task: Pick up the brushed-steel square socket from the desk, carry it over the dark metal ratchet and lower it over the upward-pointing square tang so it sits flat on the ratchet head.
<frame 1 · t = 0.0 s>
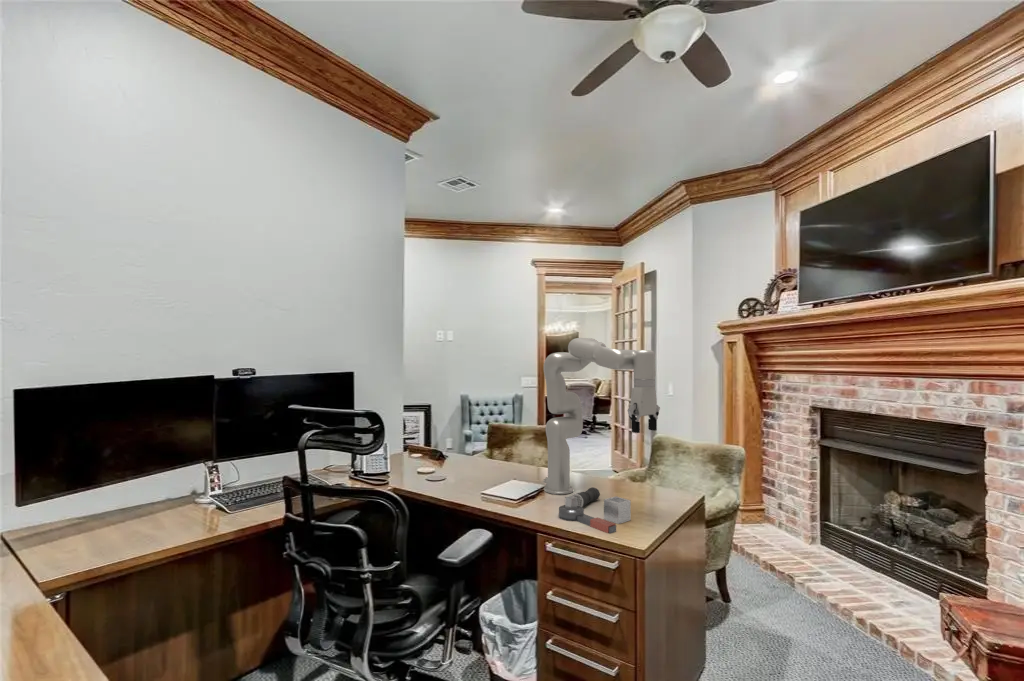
hand: (644, 431, 175), 31 cm above the table, fingers open, 9 cm apart
flashlight: (585, 504, 191), on the table
ratchet: (571, 516, 175), on the table
socket: (617, 519, 173), on the table
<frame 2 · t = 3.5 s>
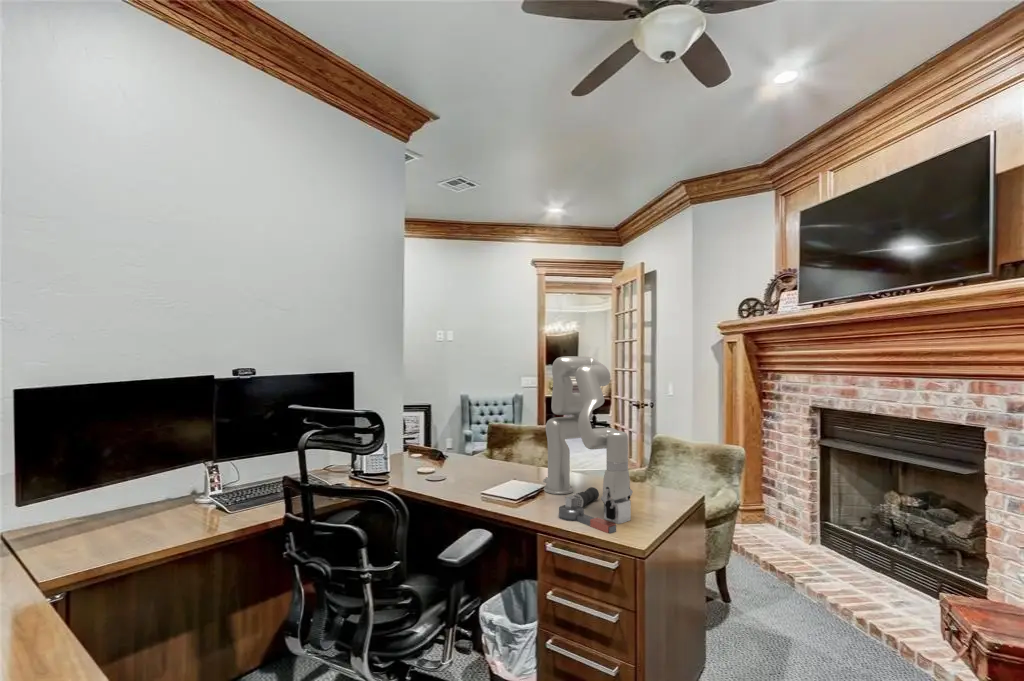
hand: (617, 516, 173), 1 cm above the table, fingers closed on socket, 6 cm apart
socket: (617, 519, 173), on the table, touching gripper
everything else where it was.
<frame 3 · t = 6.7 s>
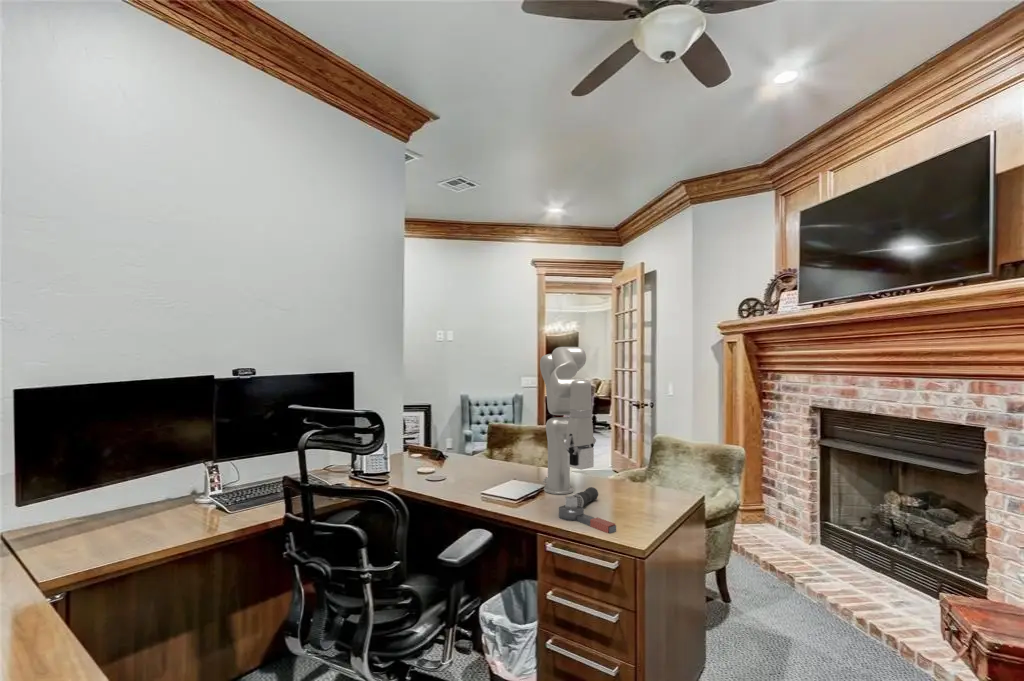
hand: (580, 463, 176), 19 cm above the table, fingers closed on socket, 6 cm apart
socket: (580, 466, 176), point 18 cm above the table, touching gripper
everything else where it was.
when the fingers open (5 cm above the table, at t = 10.1 s): socket drops 1 cm, resting on ratchet.
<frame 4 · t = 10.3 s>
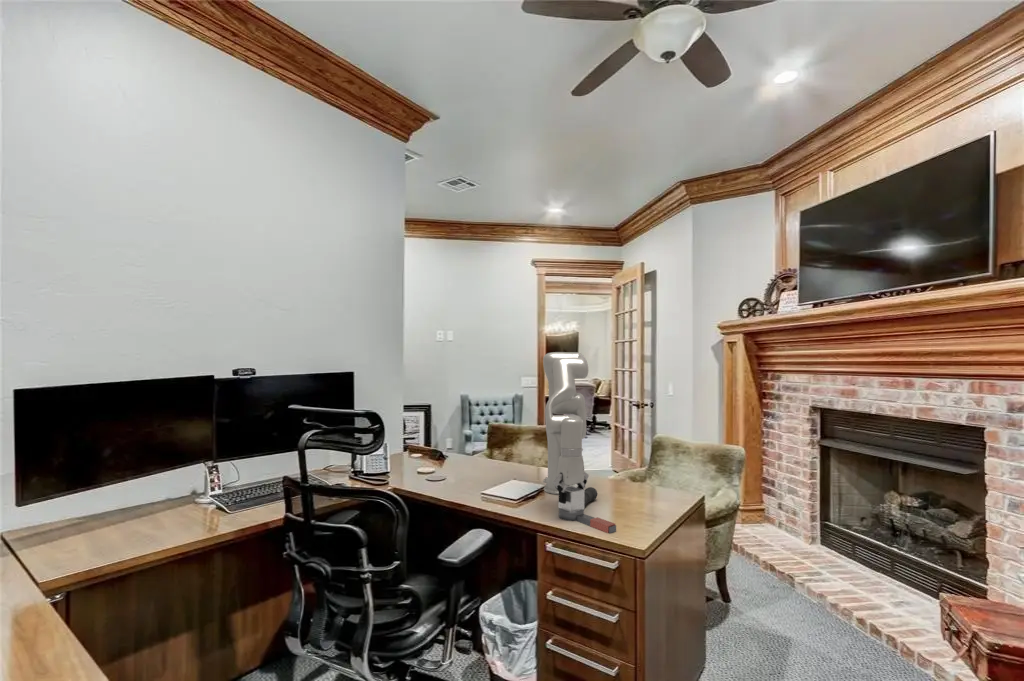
hand: (571, 500, 176), 6 cm above the table, fingers open, 8 cm apart
ratchet: (571, 516, 175), on the table, touching socket
socket: (571, 508, 176), point 3 cm above the table, touching ratchet
everything else where it was.
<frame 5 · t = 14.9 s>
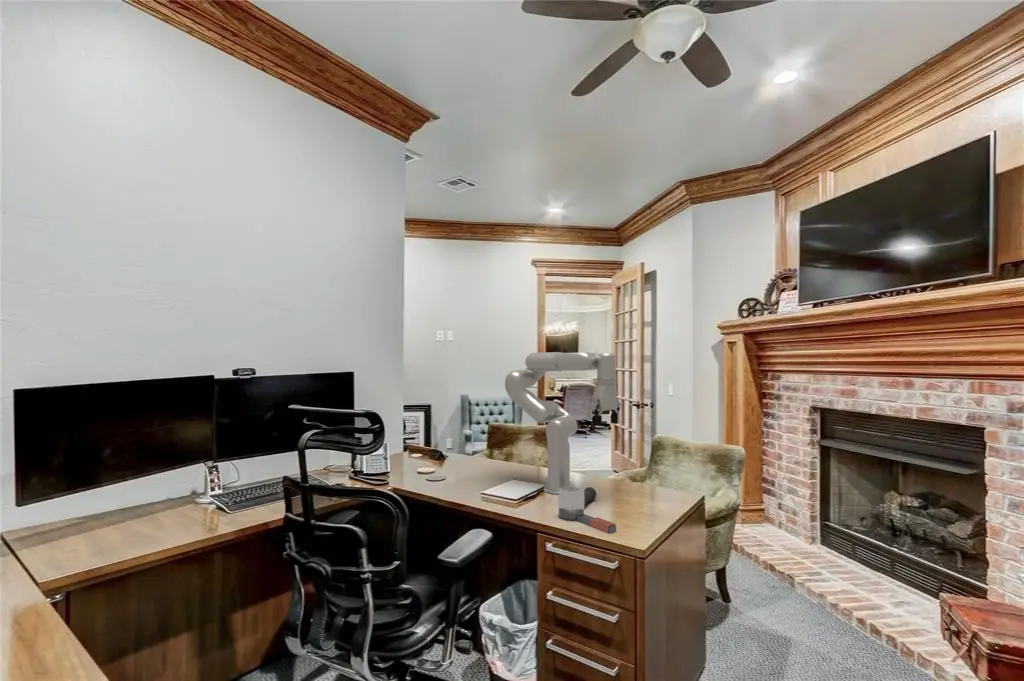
hand: (606, 424, 200), 30 cm above the table, fingers open, 9 cm apart
nothing on the table moved.
at the end: socket 0.1 cm off-centre on the ratchet, point 3.0 cm above the ratchet's base; socket tilted 0°; the gripper is holding nothing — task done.
